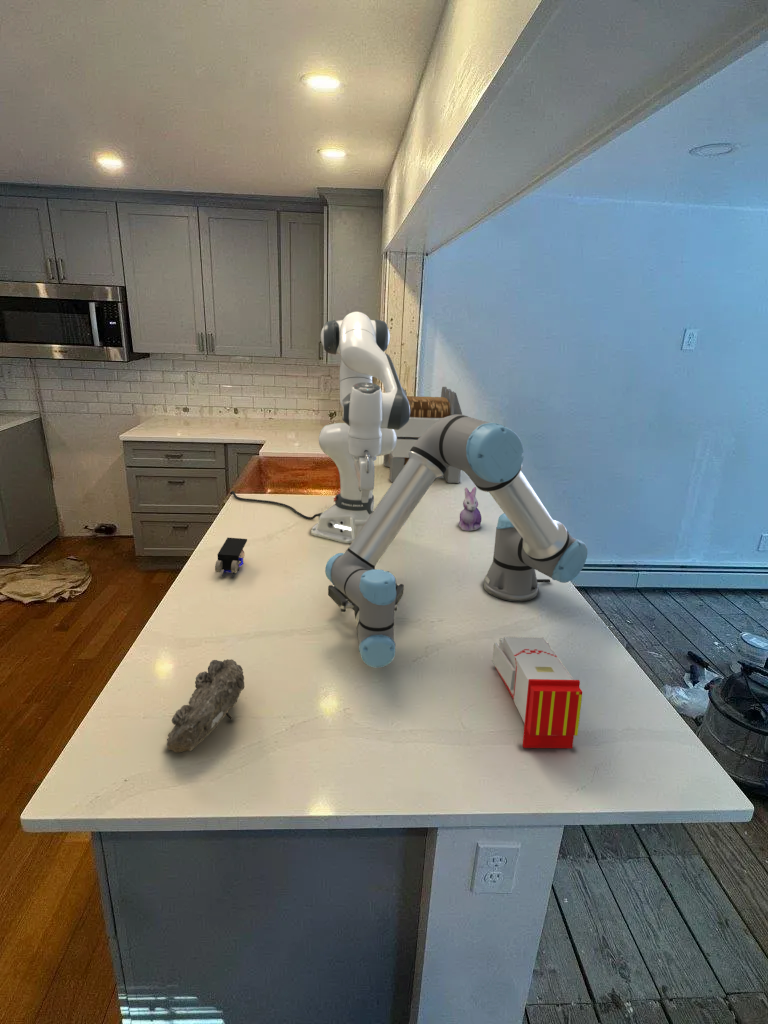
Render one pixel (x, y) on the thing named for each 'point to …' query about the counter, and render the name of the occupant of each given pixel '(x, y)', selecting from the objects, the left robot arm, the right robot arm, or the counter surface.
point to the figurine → (470, 512)
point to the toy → (539, 691)
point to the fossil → (206, 705)
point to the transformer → (422, 429)
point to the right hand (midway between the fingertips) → (363, 576)
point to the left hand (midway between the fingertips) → (363, 496)
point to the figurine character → (230, 556)
